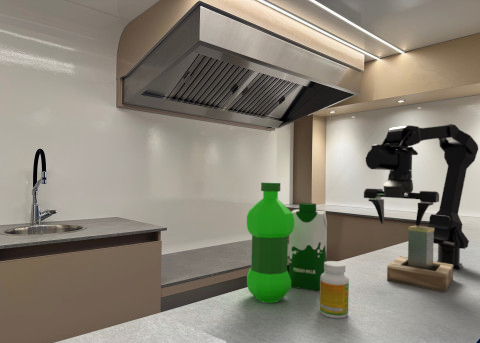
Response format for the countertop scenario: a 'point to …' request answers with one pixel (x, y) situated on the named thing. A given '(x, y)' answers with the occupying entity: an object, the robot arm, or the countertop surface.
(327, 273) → the supplement bottle
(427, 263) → the tea canister
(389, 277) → the caddy
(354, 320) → the countertop surface
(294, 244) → the milk carton
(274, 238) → the plastic bottle
